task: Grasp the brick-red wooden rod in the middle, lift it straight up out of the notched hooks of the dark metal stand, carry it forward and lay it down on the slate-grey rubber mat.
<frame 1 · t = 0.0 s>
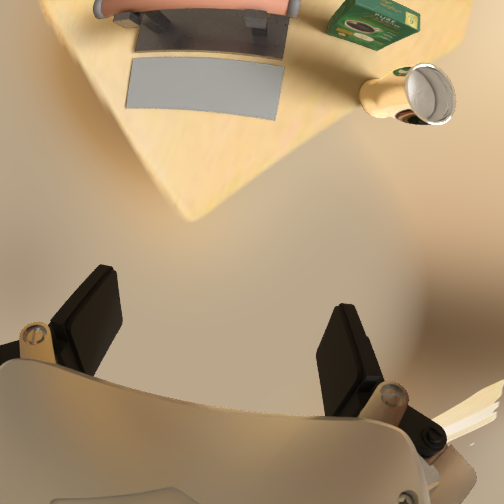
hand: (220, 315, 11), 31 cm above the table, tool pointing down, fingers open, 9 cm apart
coffee box: (353, 35, 29), on the table
mat: (200, 84, 34), on the table
hook stand: (211, 28, 30), on the table
beer glass: (377, 98, 33), on the table
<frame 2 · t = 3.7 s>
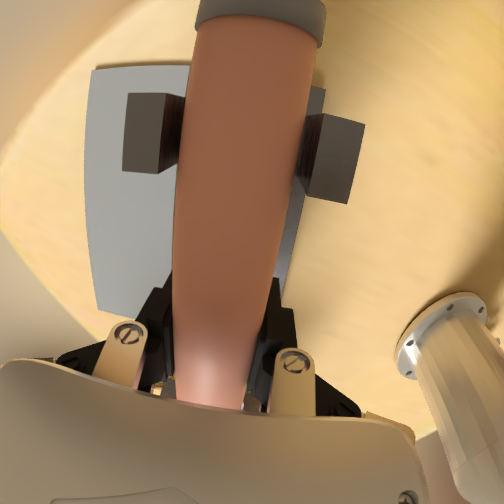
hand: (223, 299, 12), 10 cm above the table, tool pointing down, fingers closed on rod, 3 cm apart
mat: (127, 207, 21), on the table
hook stand: (240, 223, 21), on the table
rod: (214, 343, 10), point 12 cm above the table, touching gripper, hook stand
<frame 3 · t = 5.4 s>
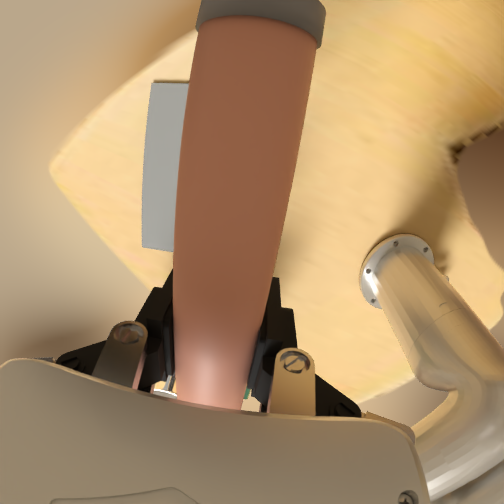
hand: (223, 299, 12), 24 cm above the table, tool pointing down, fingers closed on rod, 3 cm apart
mat: (173, 171, 33), on the table
beer glass: (187, 328, 45), on the table
rod: (214, 342, 10), point 26 cm above the table, touching gripper
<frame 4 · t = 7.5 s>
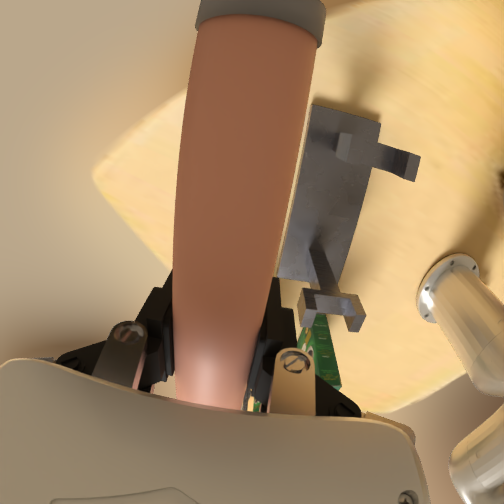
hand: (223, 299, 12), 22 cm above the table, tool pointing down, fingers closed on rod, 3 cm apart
coffee box: (309, 331, 41), on the table
hook stand: (326, 200, 32), on the table
rod: (214, 343, 10), point 24 cm above the table, touching gripper
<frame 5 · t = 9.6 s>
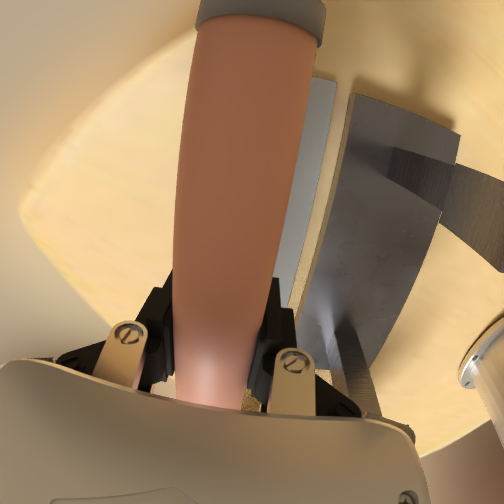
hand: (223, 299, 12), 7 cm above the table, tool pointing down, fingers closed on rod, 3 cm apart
mat: (242, 237, 19), on the table
hook stand: (367, 258, 19), on the table
rod: (214, 342, 10), point 10 cm above the table, touching gripper
when the fingers open (1 cm above the table, at t = 11.3 s): rod drops 2 cm, resting on mat.
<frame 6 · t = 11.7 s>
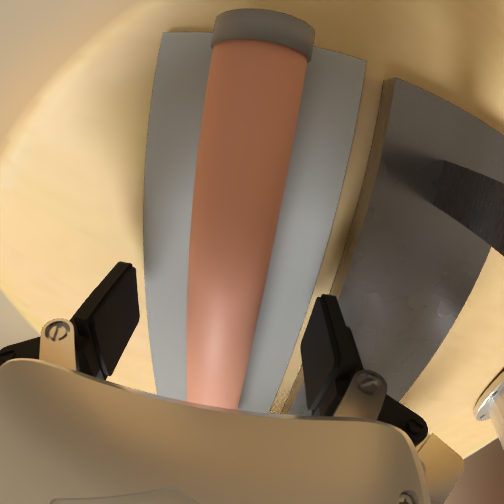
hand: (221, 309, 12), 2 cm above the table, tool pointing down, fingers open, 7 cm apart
mat: (226, 284, 13), on the table
hook stand: (394, 306, 14), on the table
rod: (222, 310, 12), point 2 cm above the table, touching mat
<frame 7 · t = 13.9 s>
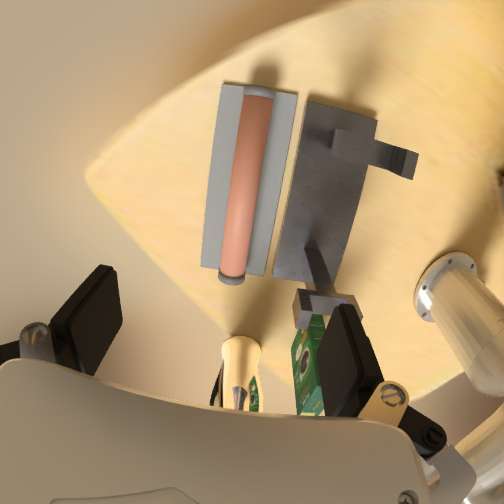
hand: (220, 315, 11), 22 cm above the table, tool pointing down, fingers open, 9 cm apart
coffee box: (305, 331, 41), on the table
mat: (244, 185, 31), on the table
hook stand: (322, 198, 32), on the table
beer glass: (241, 348, 43), on the table
rod: (243, 189, 29), point 2 cm above the table, touching mat
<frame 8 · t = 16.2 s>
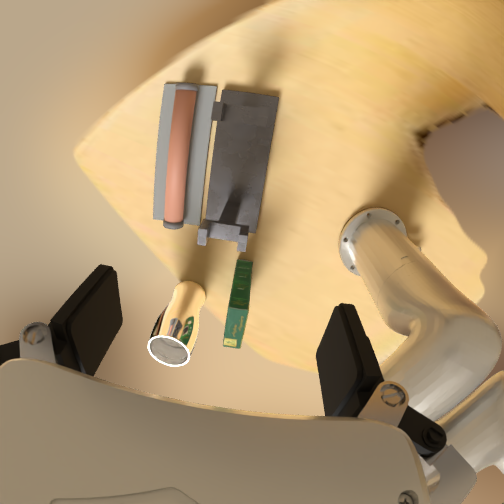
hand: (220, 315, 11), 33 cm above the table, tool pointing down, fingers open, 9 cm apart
coffee box: (241, 278, 50), on the table
mat: (181, 154, 40), on the table
hook stand: (240, 161, 41), on the table
beer glass: (190, 293, 52), on the table
rod: (178, 156, 39), point 2 cm above the table, touching mat
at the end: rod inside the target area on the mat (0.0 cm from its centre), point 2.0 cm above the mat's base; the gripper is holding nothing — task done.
